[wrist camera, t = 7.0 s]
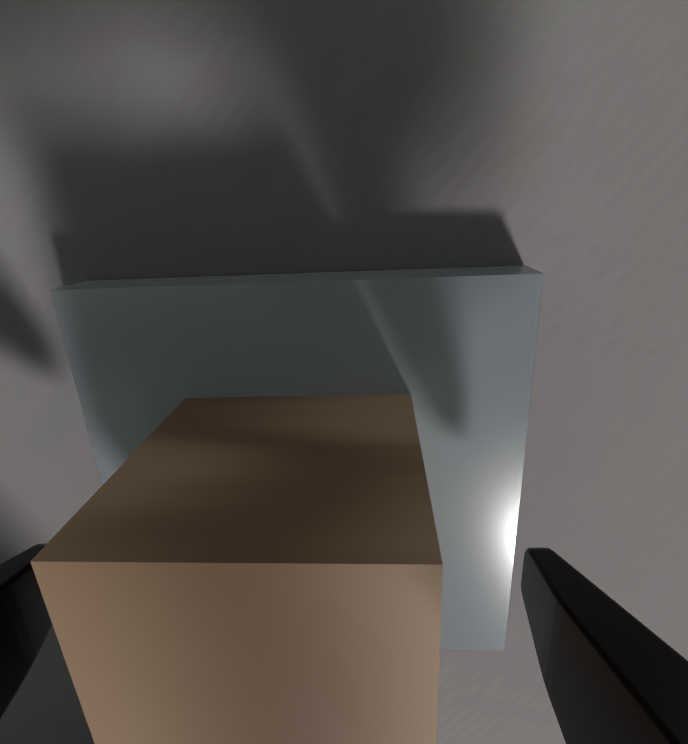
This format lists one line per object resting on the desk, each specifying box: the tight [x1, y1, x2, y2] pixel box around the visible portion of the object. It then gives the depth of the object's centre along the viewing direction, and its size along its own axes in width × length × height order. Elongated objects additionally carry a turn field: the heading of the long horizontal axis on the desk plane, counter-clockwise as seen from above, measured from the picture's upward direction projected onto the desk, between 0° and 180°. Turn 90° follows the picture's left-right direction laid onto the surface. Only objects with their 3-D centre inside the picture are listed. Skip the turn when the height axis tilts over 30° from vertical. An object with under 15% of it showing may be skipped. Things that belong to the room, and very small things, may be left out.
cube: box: [30, 394, 443, 744], centre depth 9 cm, size 5×5×5 cm
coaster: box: [51, 265, 544, 651], centre depth 12 cm, size 10×10×1 cm
